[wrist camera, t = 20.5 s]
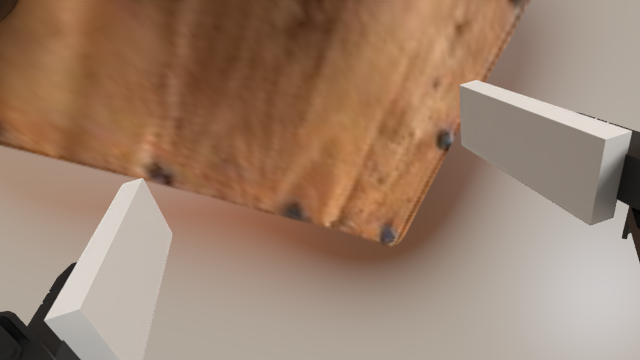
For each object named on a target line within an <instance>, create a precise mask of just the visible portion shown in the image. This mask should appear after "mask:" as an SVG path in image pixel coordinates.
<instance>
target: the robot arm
mask: <svg viewBox="0 0 640 360" xmlns="http://www.w3.org/2000/svg"><path fill="white" fill-rule="evenodd" d="M16 2H17V0H0V21H2V20H3V19H4V18H5V17H6V16H7V15H8V14H9V13H10V12H11V10H12V9H13V8H14V6H15V4H16ZM460 118H461V145H462V146H464V147H466V148H467V149H469V150H470V151H472V152H473V153H475V154H477V155H478V156H480V157H481V158H483V159H485V160H486V161H488V162H489V163H491V164H493V165H494V166H496V167H497V168H499V169H501V170H502V171H504V172H506V173H507V174H509V175H510V176H512V177H513V178H515V179H517V180H518V181H520V182H521V183H523V184H525V185H526V186H528V187H529V188H531V189H532V190H534V191H536V192H537V193H539V194H540V195H542V196H544V197H545V198H547V199H548V200H550V201H552V202H553V203H555V204H557V205H558V206H560V207H561V208H563V209H564V210H566V211H567V212H569V213H571V214H572V215H574V216H575V217H577V218H579V219H580V220H582V221H584V222H585V223H587V224H588V225H593V224H596V223H599V222H602V221H604V220H608V219H611V218H613V216H614V212H615V207H616V203H617V199H618V200H620V201H621V202H623V203H625V204H627V205H629V209H628V213H627V217H626V222H625V226H624V230H623V235H622V238H623V239H627V236H628V234H629V233H631V234H632V237H633V240H634V244H635V248H636V251H637V255H638V258H639V261H640V132H638V131H634V130H631V129H628V128H625V127H622V126H619V125H616V124H613V123H607V122H606V121H604V120H600V119H595V118H594V117H591V116H588V115H585V114H582V113H576V112H572V111H569V110H566V109H563V108H560V107H557V106H554V105H551V104H548V103H545V102H542V101H539V100H536V99H532V98H530V97H526V96H524V95H520V94H517V93H514V92H511V91H508V90H505V89H502V88H499V87H496V86H493V85H490V84H487V83H484V82H481V81H478V80H475V81H472V82H468V83H465V84H461V85H460ZM172 235H173V234H172V232H171V230H170V228H169V226H168V225H167V223H166V221H165V219H164V217H163V215H162V213H161V211H160V209H159V208H158V206H157V204H156V202H155V200H154V198H153V196H152V194H151V192H150V190H149V189H148V187H147V185H146V183H145V181H144V179H143V178H141V179H138V180H134V181H131V182H128V183H124V184H122V186H121V188H120V189H119V191H118V193H117V195H116V196H115V198H114V200H113V202H112V203H111V205H110V207H109V208H108V210H107V212H106V214H105V215H104V217H103V219H102V221H101V222H100V224H99V226H98V228H97V229H96V231H95V233H94V234H93V236H92V238H91V240H90V241H89V243H88V245H87V247H86V249H85V250H84V252H83V254H82V255H81V257H80V259H79V260H78V262H76V263H73V264H71V265H70V266H69V267H68V268H67V269H66V270H65V271H64V272H63V273H62V274H60V276H59V277H58V278H57V279H56V281H55V282H54V284H53V286H52V287H51V289H50V293H48V294H47V295H46V297H45V299H44V300H43V304H41V305H40V307H39V308H38V310H37V312H36V313H35V315H34V316H33V318H32V320H31V321H30V323H29V324H28V326H26V325H25V324H24V323H23V322H22V321H21V320H20V319H19V318H18V317H17V315H16V314H15V313H12V312H10V311H5V312H0V360H143V357H144V352H145V348H146V344H147V340H148V336H149V331H150V327H151V323H152V318H153V315H154V311H155V306H156V302H157V298H158V294H159V290H160V286H161V281H162V277H163V273H164V269H165V264H166V260H167V256H168V252H169V248H170V244H171V240H172Z"/></svg>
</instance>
